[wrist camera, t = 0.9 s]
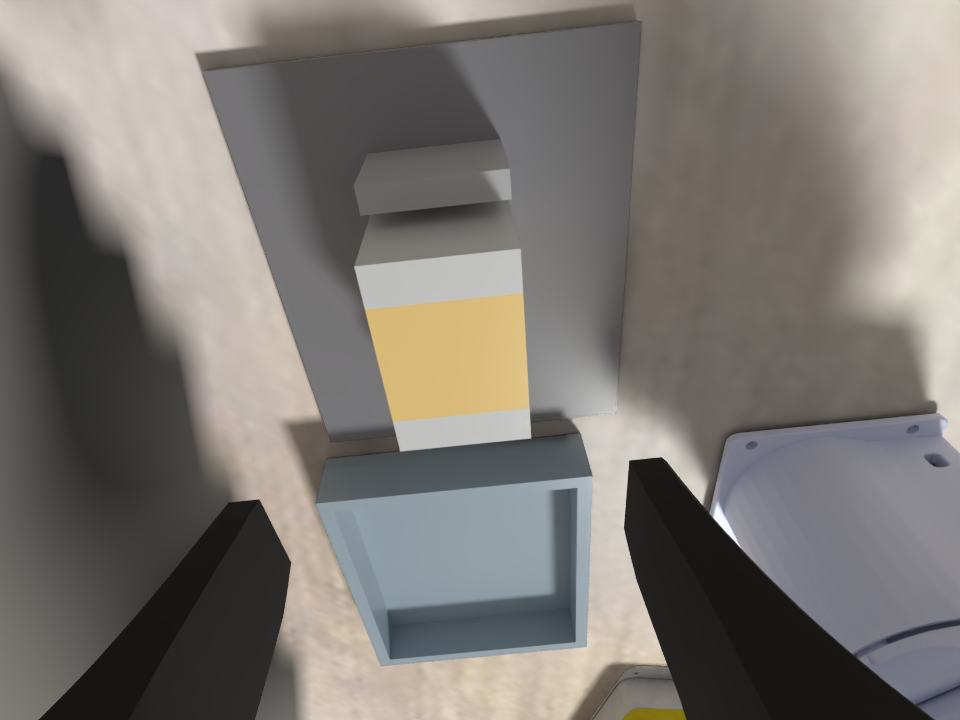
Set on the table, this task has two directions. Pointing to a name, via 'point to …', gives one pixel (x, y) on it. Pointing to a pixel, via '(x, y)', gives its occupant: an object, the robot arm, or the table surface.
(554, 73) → the fuse block
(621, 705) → the emergency button
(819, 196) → the table surface
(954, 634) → the robot arm
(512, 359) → the block
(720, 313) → the table surface
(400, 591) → the parts tray
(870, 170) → the table surface
